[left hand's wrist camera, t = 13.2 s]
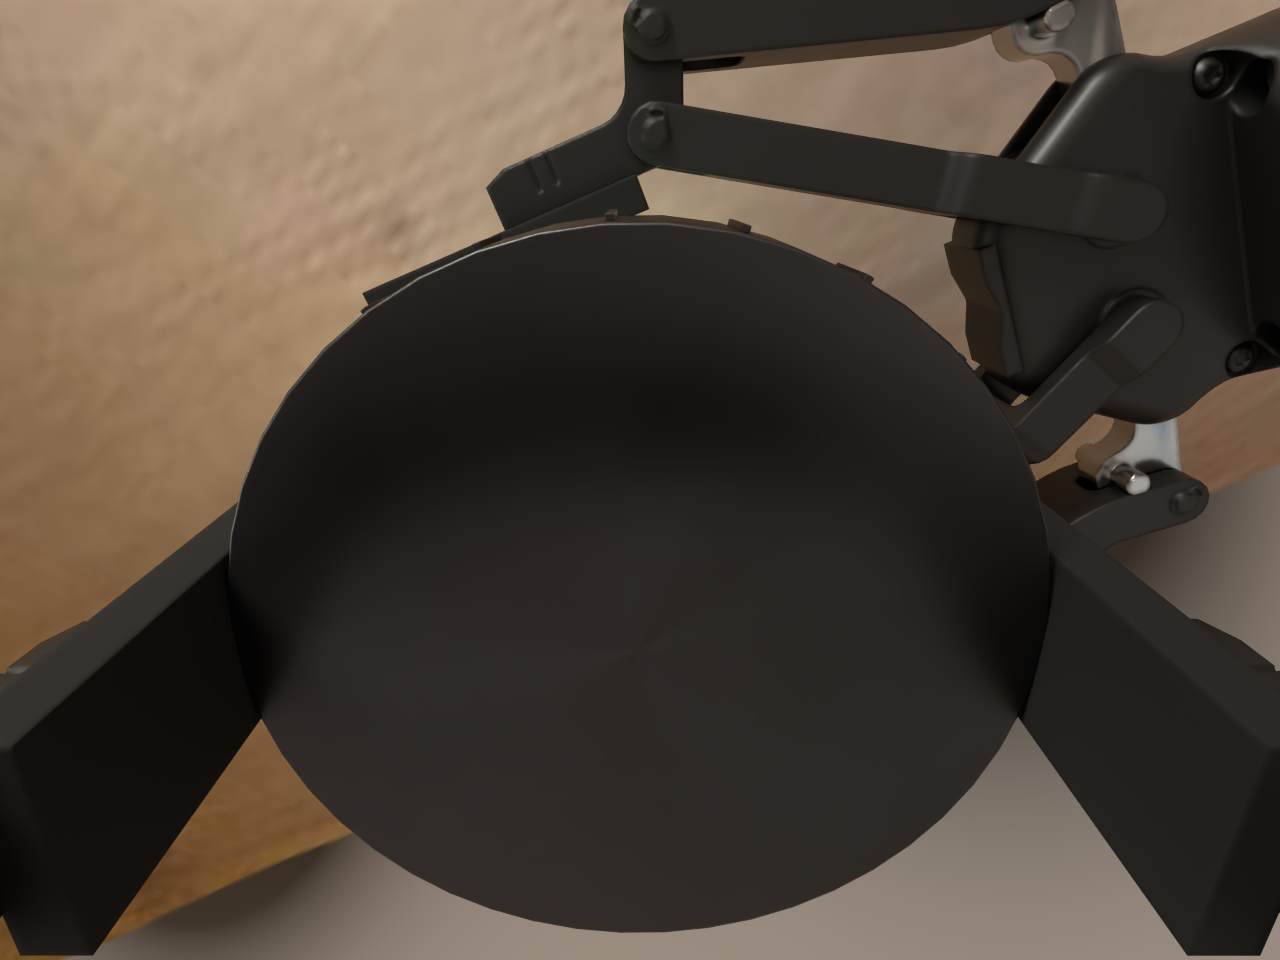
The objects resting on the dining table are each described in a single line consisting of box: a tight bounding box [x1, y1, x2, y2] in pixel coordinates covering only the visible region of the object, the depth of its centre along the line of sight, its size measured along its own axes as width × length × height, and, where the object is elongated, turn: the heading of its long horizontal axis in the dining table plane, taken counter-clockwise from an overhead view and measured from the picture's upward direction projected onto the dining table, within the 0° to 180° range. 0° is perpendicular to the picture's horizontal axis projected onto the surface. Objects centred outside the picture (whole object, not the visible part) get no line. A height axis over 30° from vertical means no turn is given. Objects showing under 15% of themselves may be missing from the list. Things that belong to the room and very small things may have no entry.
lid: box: [228, 209, 1051, 933], centre depth 11 cm, size 11×12×2 cm
